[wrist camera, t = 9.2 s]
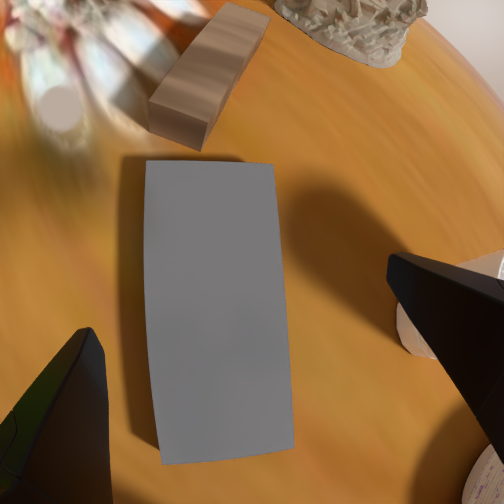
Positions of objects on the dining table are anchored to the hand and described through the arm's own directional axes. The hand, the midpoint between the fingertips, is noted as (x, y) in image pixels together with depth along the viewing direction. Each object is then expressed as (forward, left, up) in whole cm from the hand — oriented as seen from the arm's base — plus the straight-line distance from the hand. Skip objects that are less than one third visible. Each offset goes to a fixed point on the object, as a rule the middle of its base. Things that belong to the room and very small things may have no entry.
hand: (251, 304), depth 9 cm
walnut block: (+10, +6, -10) cm, 15 cm away
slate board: (0, 0, -11) cm, 11 cm away
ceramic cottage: (+35, -5, -12) cm, 38 cm away
